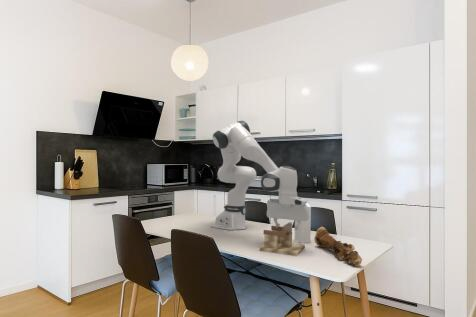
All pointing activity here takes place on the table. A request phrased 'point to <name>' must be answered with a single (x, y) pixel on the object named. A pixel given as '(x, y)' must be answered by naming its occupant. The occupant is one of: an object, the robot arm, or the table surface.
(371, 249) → the table surface
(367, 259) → the table surface
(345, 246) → the sculpture
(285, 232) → the brown u-shaped block
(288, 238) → the stand
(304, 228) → the milk
